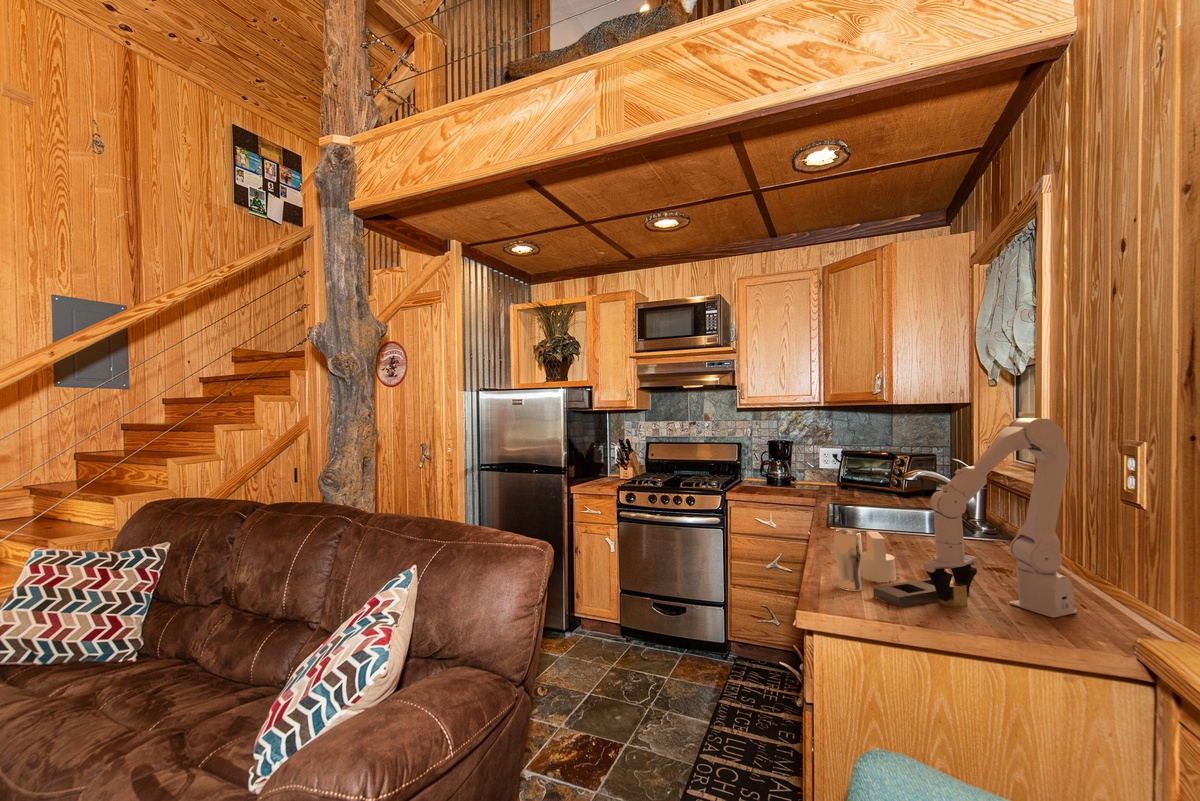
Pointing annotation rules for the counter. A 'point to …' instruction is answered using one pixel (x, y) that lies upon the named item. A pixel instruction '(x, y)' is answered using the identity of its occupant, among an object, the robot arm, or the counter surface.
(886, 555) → the cylinder with rectangular tab
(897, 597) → the grey slotted board
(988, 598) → the counter surface
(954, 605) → the golden brown block
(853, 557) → the beer glass
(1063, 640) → the counter surface
